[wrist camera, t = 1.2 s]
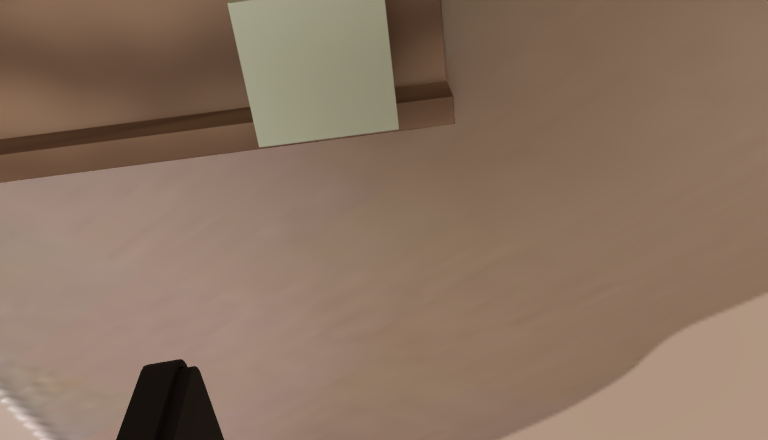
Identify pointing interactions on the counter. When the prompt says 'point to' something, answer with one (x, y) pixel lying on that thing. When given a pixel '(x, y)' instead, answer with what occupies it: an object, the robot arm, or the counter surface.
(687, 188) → the counter surface
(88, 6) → the chute
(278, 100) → the block
